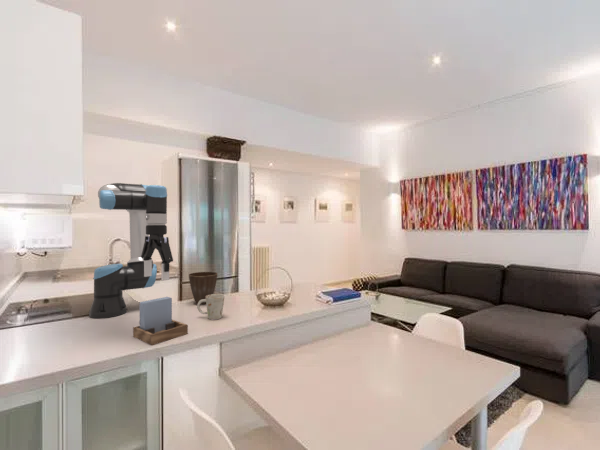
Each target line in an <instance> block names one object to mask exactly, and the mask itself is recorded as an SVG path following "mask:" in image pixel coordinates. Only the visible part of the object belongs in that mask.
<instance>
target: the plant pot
mask: <svg viewBox="0 0 600 450" xmlns="http://www.w3.org/2000/svg"><path fill="white" fill-rule="evenodd" d="M188 279H189V280H188V281H189V286H190V291H191V295H192V296H193V300H194V302H195V304H196V305H197V304H198V302H199V301H200V300H202V299H206V298H205V297H206V296H207V295H211V294H215V293H214V292H215V291H216V290H215V289H216V285H217V279H218V272H215V271H214V272H213V271H197V272H192V273H189V274H188ZM203 305H205V306H206V302H202V303H201V304H200V306H203Z"/></svg>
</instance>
